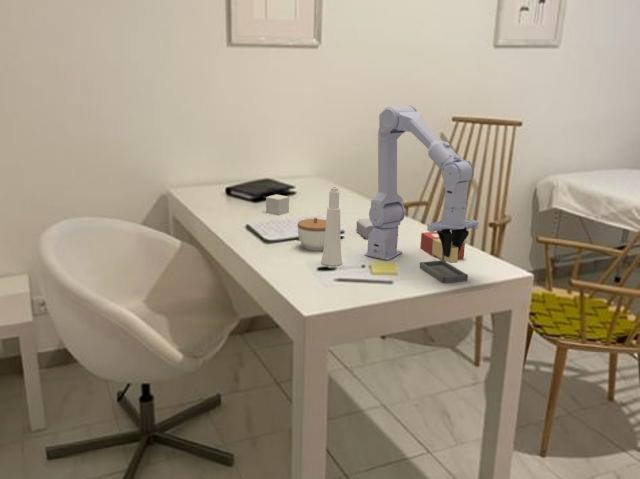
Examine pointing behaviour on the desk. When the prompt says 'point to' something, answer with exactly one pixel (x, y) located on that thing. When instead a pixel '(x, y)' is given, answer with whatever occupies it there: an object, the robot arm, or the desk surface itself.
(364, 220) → the charger
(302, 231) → the lidded jar
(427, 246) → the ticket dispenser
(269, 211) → the light gray cube
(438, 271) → the ticket tray
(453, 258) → the wooden blocks
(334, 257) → the cosmetic bottle
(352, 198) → the desk surface
